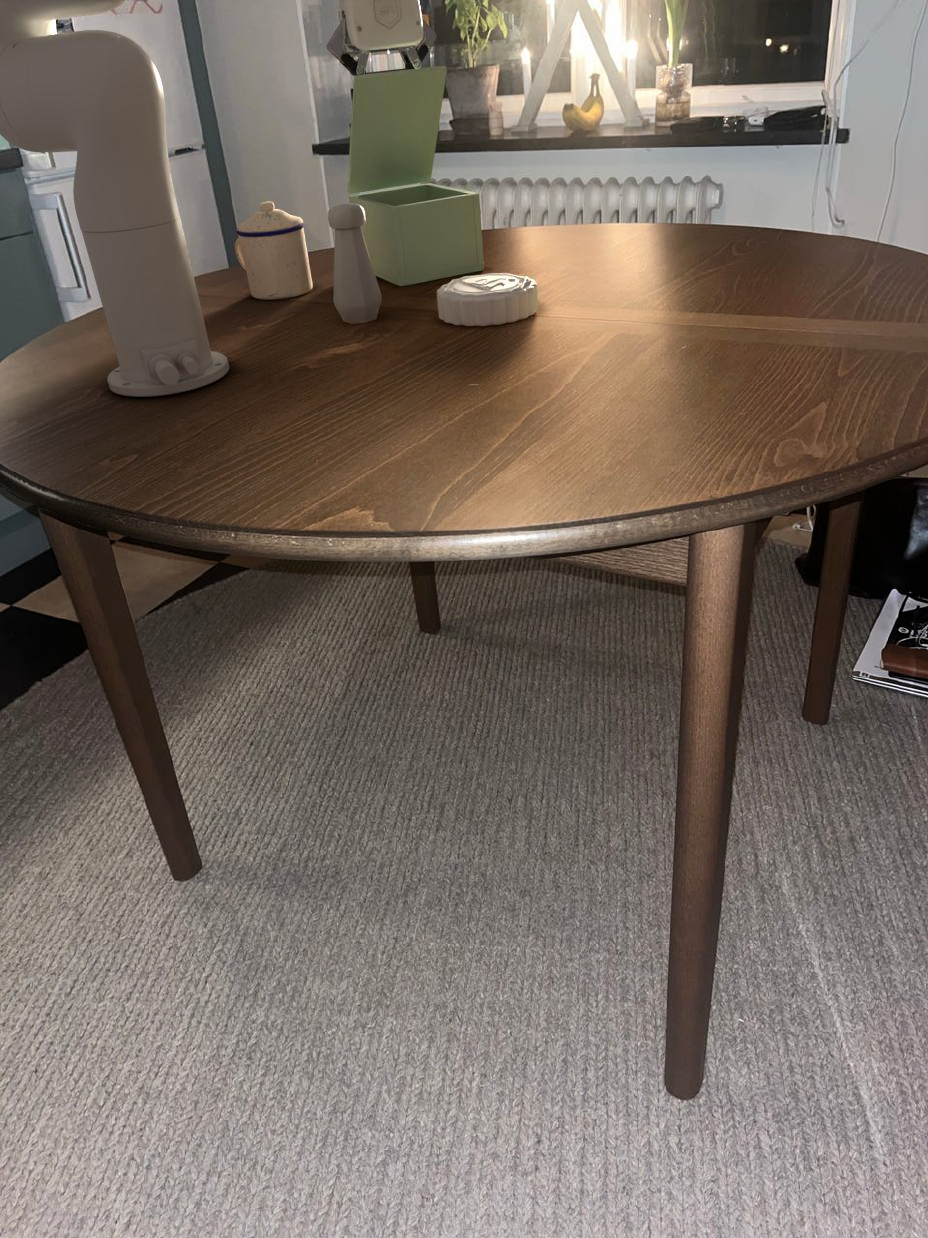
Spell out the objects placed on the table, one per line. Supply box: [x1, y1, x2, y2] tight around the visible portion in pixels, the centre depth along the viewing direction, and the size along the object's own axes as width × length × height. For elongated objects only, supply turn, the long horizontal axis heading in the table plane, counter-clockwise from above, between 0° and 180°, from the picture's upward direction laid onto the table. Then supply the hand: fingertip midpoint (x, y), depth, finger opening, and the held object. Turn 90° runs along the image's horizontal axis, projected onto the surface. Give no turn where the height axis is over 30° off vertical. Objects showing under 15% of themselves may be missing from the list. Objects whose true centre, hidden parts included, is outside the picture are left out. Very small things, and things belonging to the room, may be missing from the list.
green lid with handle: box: [346, 65, 448, 195], centre depth 131 cm, size 17×13×6 cm
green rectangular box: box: [348, 182, 485, 287], centre depth 134 cm, size 16×13×10 cm
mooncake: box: [436, 272, 539, 327], centre depth 112 cm, size 12×12×4 cm
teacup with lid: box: [234, 200, 314, 301], centre depth 129 cm, size 12×9×12 cm
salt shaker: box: [327, 203, 383, 325], centre depth 112 cm, size 6×6×13 cm
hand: (389, 104), depth 129 cm, fingers closed on green lid with handle, 6 cm apart
